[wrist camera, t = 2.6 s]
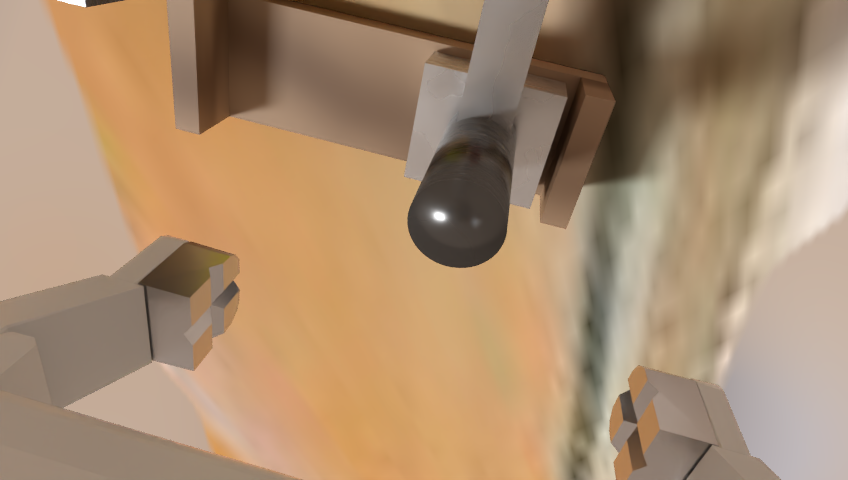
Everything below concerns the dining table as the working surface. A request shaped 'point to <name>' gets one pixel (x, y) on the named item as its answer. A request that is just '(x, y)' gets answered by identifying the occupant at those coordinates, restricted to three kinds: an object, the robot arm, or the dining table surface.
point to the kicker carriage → (481, 136)
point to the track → (349, 83)
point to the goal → (89, 2)
